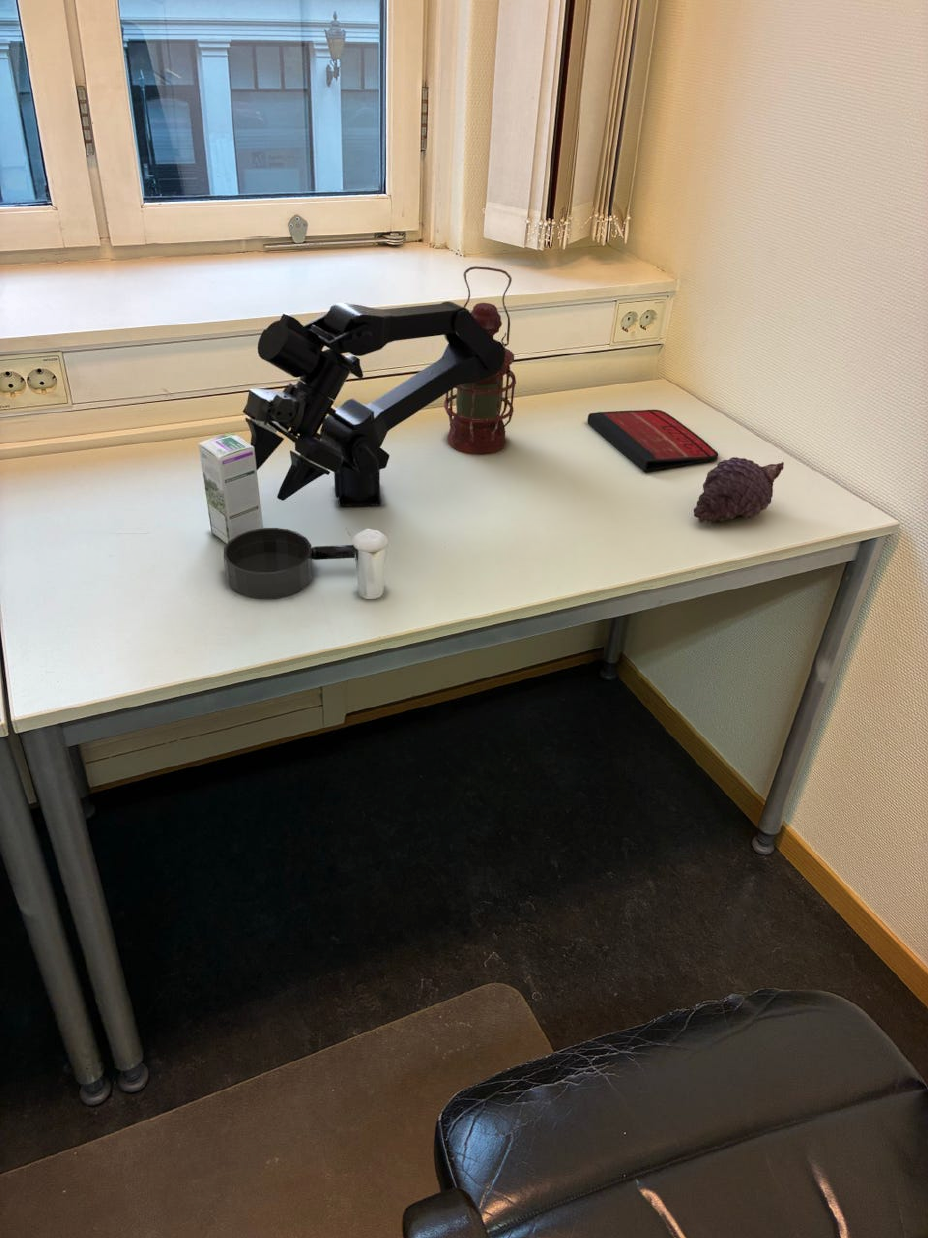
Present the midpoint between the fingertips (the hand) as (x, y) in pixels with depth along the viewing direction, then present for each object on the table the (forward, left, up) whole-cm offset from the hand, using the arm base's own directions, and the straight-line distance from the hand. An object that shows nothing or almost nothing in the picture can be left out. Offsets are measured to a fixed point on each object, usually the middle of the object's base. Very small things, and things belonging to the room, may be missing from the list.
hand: (263, 486), depth 132 cm
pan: (-1, +13, -7) cm, 15 cm away
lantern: (-36, -27, -7) cm, 45 cm away
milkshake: (-13, +19, -7) cm, 24 cm away
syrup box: (+4, +2, -7) cm, 8 cm away
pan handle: (-11, +13, -4) cm, 18 cm away
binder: (-68, -25, -7) cm, 73 cm away
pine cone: (-72, +1, -7) cm, 73 cm away
